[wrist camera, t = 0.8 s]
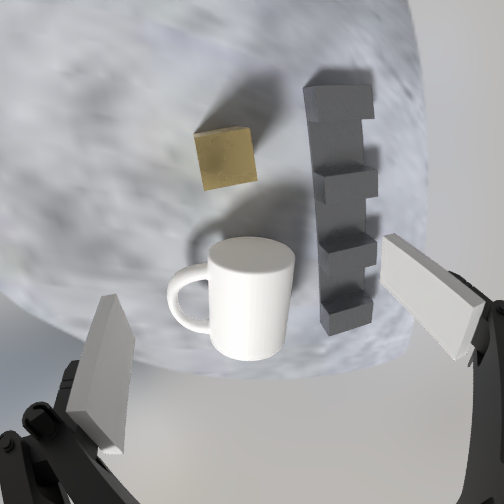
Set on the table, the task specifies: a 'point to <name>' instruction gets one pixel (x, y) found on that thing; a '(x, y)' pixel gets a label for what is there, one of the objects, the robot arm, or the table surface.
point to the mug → (241, 296)
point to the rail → (341, 201)
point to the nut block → (225, 157)
